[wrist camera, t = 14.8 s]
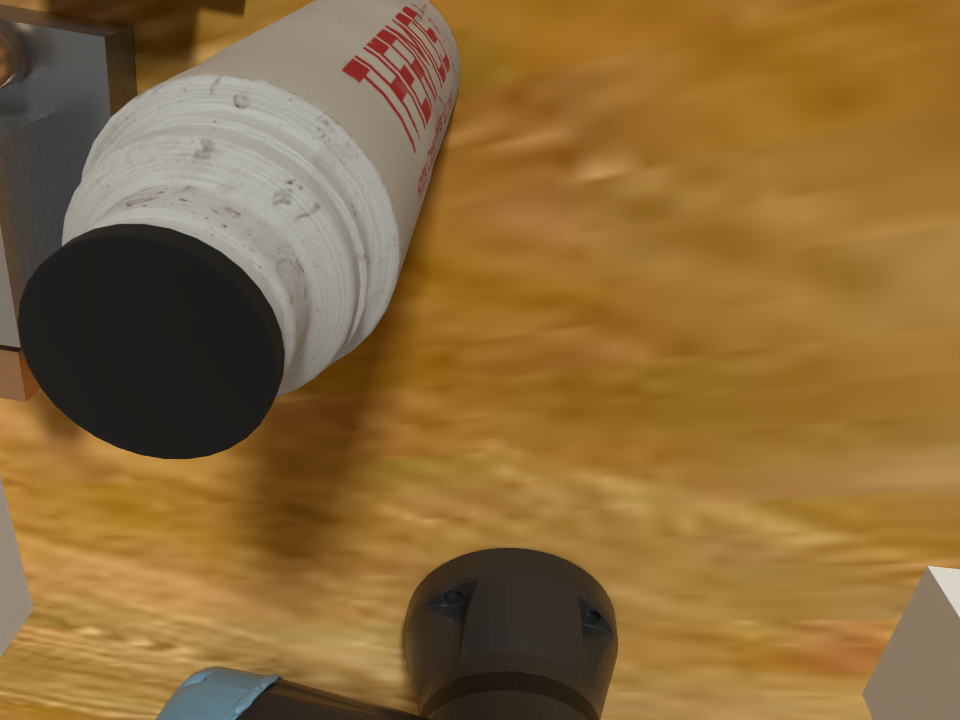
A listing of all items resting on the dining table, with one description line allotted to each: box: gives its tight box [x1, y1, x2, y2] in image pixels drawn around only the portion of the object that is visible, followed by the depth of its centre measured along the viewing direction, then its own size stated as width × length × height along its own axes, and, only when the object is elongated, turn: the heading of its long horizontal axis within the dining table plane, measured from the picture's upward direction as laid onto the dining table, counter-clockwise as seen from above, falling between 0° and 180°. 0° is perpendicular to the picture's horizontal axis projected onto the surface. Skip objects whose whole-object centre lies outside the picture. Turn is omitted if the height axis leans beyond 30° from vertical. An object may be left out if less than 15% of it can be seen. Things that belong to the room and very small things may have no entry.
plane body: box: [0, 5, 137, 402], centre depth 39 cm, size 18×10×8 cm, turn 171°
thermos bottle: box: [18, 0, 460, 459], centre depth 27 cm, size 8×8×28 cm
